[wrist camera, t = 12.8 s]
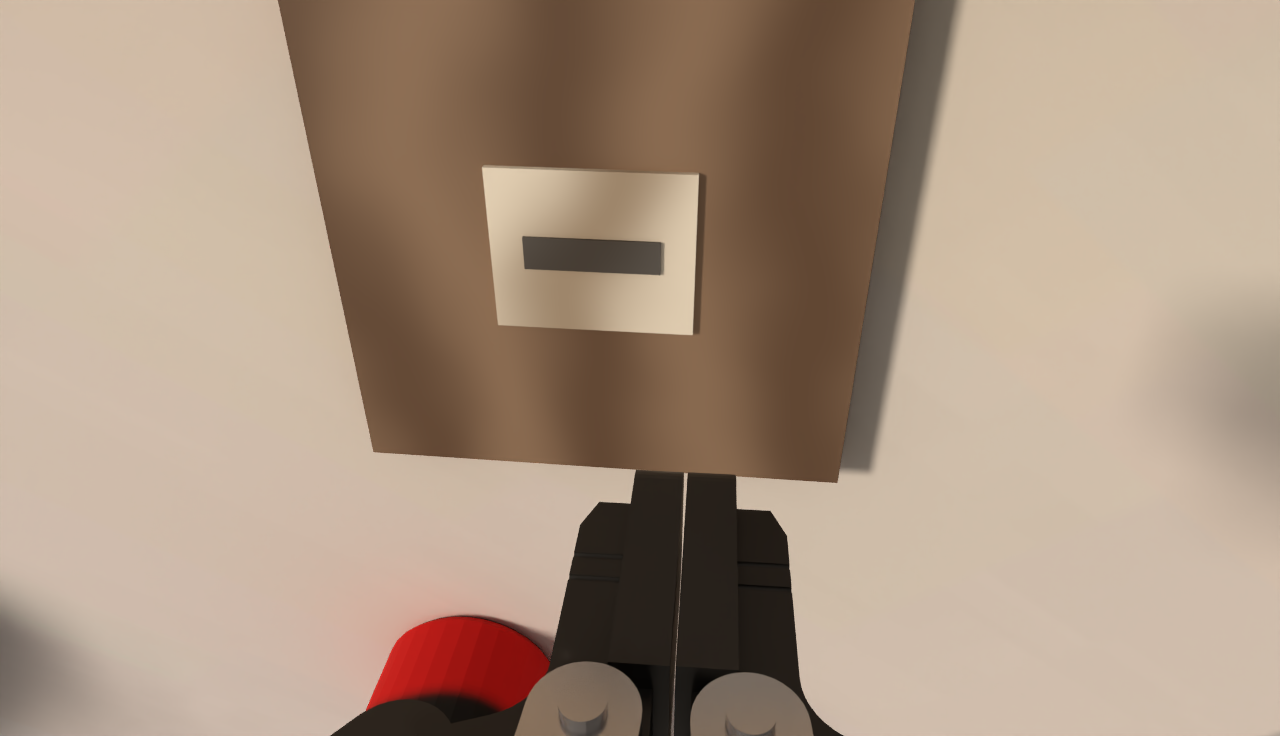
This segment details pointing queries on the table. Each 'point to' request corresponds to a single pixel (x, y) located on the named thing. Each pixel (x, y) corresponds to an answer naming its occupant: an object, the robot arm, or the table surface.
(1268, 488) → the table surface
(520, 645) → the soda can
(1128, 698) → the table surface
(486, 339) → the label panel
